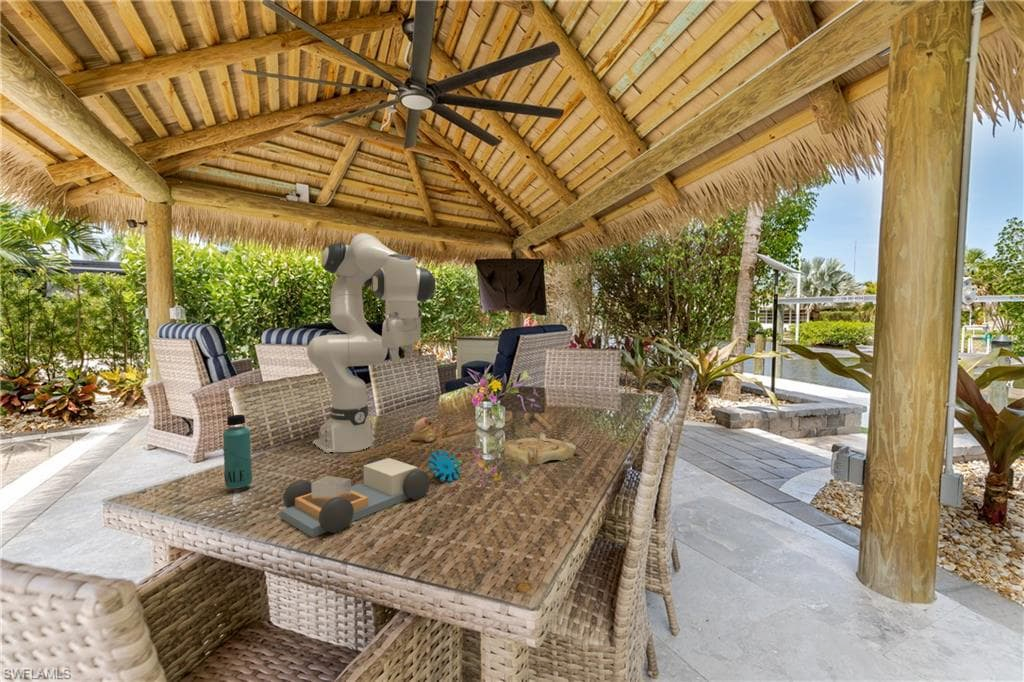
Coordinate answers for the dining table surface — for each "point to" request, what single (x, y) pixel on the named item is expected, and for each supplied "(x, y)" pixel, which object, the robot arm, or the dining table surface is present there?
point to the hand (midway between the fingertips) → (402, 361)
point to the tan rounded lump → (423, 430)
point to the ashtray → (538, 450)
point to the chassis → (354, 497)
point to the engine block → (330, 489)
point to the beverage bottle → (237, 453)
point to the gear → (444, 465)
